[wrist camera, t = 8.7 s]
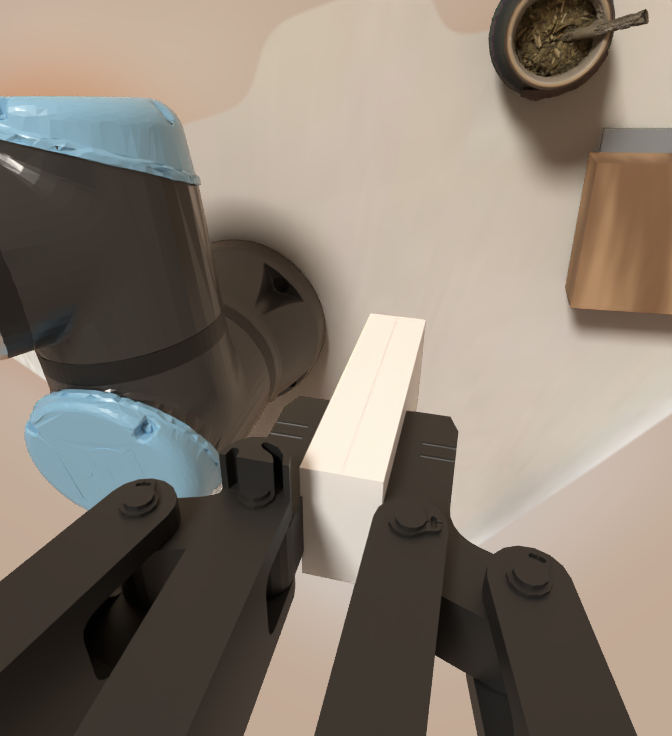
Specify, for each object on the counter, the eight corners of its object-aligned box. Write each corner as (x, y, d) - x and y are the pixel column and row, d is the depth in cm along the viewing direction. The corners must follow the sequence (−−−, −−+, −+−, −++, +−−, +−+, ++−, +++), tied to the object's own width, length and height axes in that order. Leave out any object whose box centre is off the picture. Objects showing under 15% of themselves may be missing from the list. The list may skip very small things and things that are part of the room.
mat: (571, 303, 46) (571, 305, 46) (603, 128, 39) (604, 128, 39) (726, 313, 43) (727, 315, 43) (787, 127, 37) (790, 128, 37)
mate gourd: (475, -4, 38) (471, -16, 29) (600, -58, 35) (636, -89, 26) (501, 110, 40) (504, 129, 32) (619, 68, 38) (656, 76, 29)
